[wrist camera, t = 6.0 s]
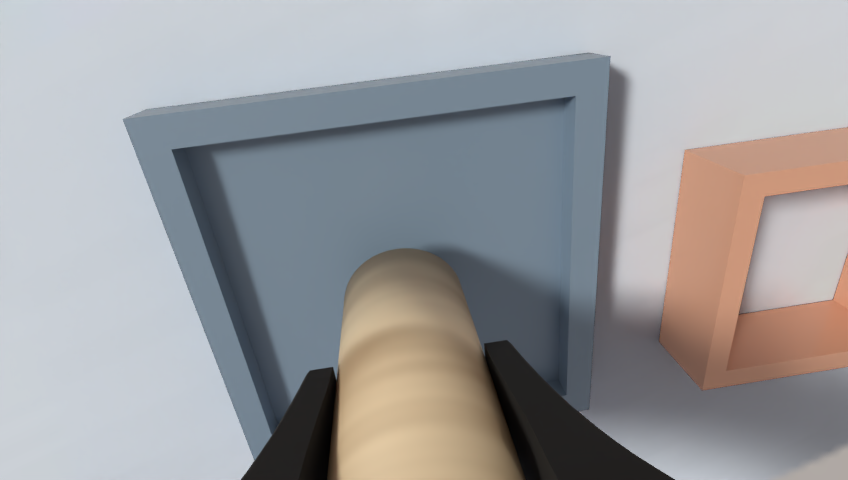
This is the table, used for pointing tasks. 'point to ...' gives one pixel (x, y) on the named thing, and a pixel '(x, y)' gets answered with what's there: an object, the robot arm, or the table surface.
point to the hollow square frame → (747, 264)
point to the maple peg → (414, 380)
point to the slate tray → (385, 213)
